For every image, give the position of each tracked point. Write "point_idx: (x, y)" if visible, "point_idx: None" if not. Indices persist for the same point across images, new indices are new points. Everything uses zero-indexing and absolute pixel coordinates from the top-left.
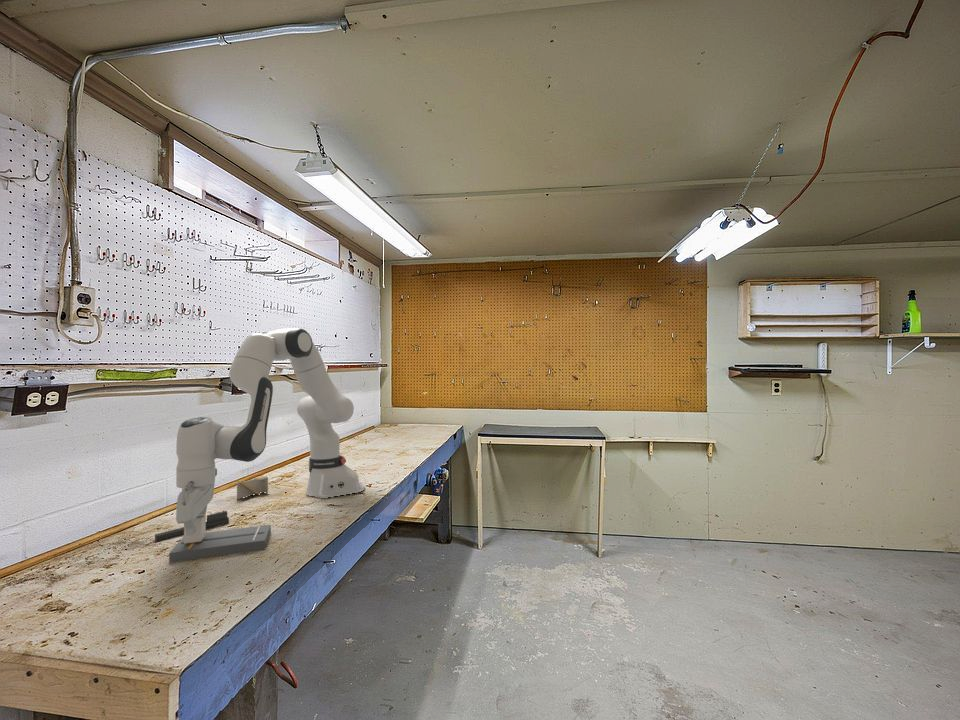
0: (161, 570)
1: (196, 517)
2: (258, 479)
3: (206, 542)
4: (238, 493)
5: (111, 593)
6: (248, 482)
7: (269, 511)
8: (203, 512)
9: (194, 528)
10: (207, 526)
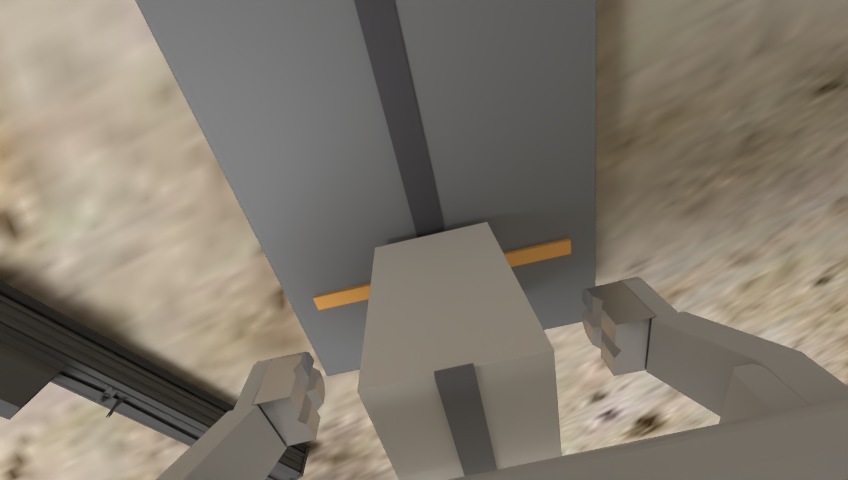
0: (652, 272)
1: (488, 420)
2: None
3: (478, 184)
4: None
5: (796, 332)
6: None
7: None
8: (244, 441)
9: (645, 309)
10: (93, 348)
